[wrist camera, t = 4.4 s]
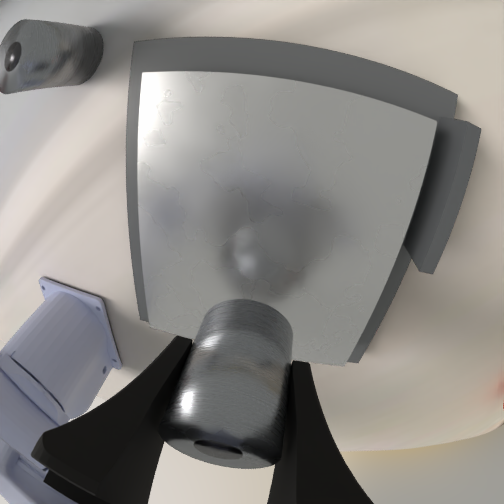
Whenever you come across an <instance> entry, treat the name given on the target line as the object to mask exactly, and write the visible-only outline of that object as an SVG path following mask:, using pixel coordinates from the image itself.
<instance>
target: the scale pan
mask: <svg viewBox="0 0 504 504" xmlns="http://www.w3.org/2000/svg"><path fill="white" fill-rule="evenodd" d="M436 126H437V121H435V120H433V119H430V118H428V117H425V116H423V115H420V114H418V113H415V112H412V111H410V110H407V109H404V108H401V107H398V106H395V105H392V104H389V103H386V102H383V101H380V100H376V99H373V98H370V97H366V96H363V95H359V94H355V93H351V92H347V91H343V90H339V89H335V88H331V87H326V86H321V85H316V84H311V83H306V82H301V81H295V80H289V79H282V78H275V77H267V76H259V75H249V74H238V73H224V72H200V71H169V72H146V73H142V82H141V94H140V107H139V124H138V159H137V179H138V215H139V233H140V247H141V259H142V270H143V280H144V288H145V297H146V304H147V311H148V318H149V325H150V328H154V329H157V330H161V331H164V332H168V333H171V334H175V335H179V336H183V337H187V338H191V339H194V340H195V337H196V335H197V333H198V330H199V328H200V325H201V323H202V321H203V318H204V316H205V314H206V313H207V311H208V310H209V309H210V308H212V307H213V306H214V305H216V304H218V303H220V302H223V301H226V300H232V299H249V300H254V301H258V302H262V303H264V304H267V305H269V306H271V307H273V308H274V309H276V310H277V311H279V312H280V313H281V314H282V315H283V316H284V317H285V318H286V319H287V320H288V322H289V323H290V325H291V327H292V331H293V346H292V359H293V360H299V361H306V362H313V363H320V364H328V365H336V366H345V364H346V362H347V360H348V359H349V357H350V355H351V353H352V351H353V350H354V348H355V346H356V344H357V342H358V340H359V338H360V336H361V334H362V333H363V331H364V329H365V327H366V325H367V323H368V321H369V319H370V317H371V315H372V313H373V310H374V308H375V306H376V304H377V302H378V300H379V298H380V296H381V293H382V291H383V289H384V287H385V284H386V282H387V280H388V277H389V275H390V273H391V270H392V268H393V266H394V263H395V261H396V258H397V256H398V253H399V251H400V248H401V245H402V243H403V240H404V237H405V235H406V232H407V229H408V226H409V223H410V221H411V218H412V215H413V212H414V209H415V206H416V203H417V199H418V196H419V193H420V190H421V186H422V183H423V179H424V176H425V172H426V168H427V165H428V161H429V157H430V153H431V149H432V145H433V140H434V136H435V131H436Z"/></svg>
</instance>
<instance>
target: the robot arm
mask: <svg viewBox="0 0 504 504" xmlns="http://www.w3.org/2000/svg"><path fill="white" fill-rule="evenodd" d="M39 284H40V287H41V290H42V292H43V295H44V298H45V301H44V302H43V303H42V304H41V305H40V306H39V307H38V308H37V310H36V311H35V312H34V313H33V314H32V315H31V316H30V317H29V318H28V319H27V320H26V322H25V323H24V324H23V325H22V326H21V327H20V328H19V330H18V331H17V332H16V333H15V334H14V335H13V336H12V338H11V339H10V340H9V341H8V342H7V344H6V345H5V346H4V347H3V349H2V350H1V351H0V494H1V495H2V496H3V497H4V498H5V499H6V500H7V502H8V503H9V504H148V499H149V495H150V491H151V487H152V483H153V479H154V475H155V471H156V468H157V464H158V461H159V457H160V454H161V451H162V448H163V444H164V440H163V439H162V438H161V436H160V435H159V433H158V428H159V425H160V423H161V420H162V418H163V415H164V413H165V410H166V408H167V405H168V403H169V400H170V398H171V396H172V393H173V391H174V388H175V386H176V383H177V381H178V378H179V376H180V373H181V371H182V369H183V366H184V364H185V361H186V359H187V357H188V354H189V352H190V349H191V347H192V339H188V338H185V337H181V336H176V337H175V338H174V339H173V340H172V341H171V343H170V344H169V345H168V346H167V347H166V348H165V349H164V351H163V352H162V353H161V354H160V355H159V356H158V357H157V358H156V359H155V360H154V361H153V362H152V363H151V364H150V365H149V366H148V367H147V368H146V369H145V370H144V371H143V372H142V373H141V374H140V375H139V376H137V377H136V378H135V379H134V380H133V381H132V382H130V383H129V384H128V385H127V386H126V387H125V388H123V389H122V390H121V391H119V392H118V393H117V394H116V395H114V396H113V397H111V398H110V399H109V400H107V401H106V402H104V403H102V404H101V405H100V406H98V407H96V408H95V409H93V410H91V411H90V412H88V413H86V414H84V413H85V412H86V411H87V410H88V409H89V407H90V406H91V404H92V402H93V400H94V399H95V397H96V395H97V393H98V392H99V390H100V388H101V386H102V385H103V383H104V381H105V379H106V378H107V376H108V374H109V373H110V371H111V369H112V368H113V367H114V368H116V369H121V368H122V364H121V361H120V358H119V355H118V352H117V348H116V345H115V342H114V339H113V335H112V332H111V328H110V325H109V321H108V317H107V313H106V309H105V305H104V302H103V300H102V299H101V298H99V297H97V296H94V295H91V294H88V293H85V292H82V291H79V290H76V289H73V288H70V287H68V286H65V285H62V284H59V283H57V282H54V281H51V280H49V279H46V278H44V277H41V278H40V279H39ZM82 414H84V415H82ZM80 415H82V416H80ZM78 416H80V417H78ZM76 417H78V418H76ZM72 418H76V419H74V420H72V421H71V422H68V421H69V420H70V419H72ZM267 504H374V503H373V502H372V501H371V499H370V498H369V497H368V496H367V494H366V493H365V492H364V490H363V489H362V488H361V486H360V485H359V484H358V482H357V480H356V479H355V477H354V476H353V474H352V473H351V471H350V469H349V468H348V466H347V465H346V463H345V461H344V459H343V457H342V455H341V454H340V452H339V450H338V448H337V445H336V443H335V441H334V439H333V437H332V435H331V432H330V430H329V427H328V425H327V422H326V420H325V417H324V414H323V411H322V408H321V405H320V402H319V399H318V396H317V392H316V389H315V385H314V381H313V377H312V372H311V367H310V364H309V363H308V362H301V361H295V360H293V362H292V365H291V371H290V383H289V394H288V404H287V414H286V423H285V432H284V441H283V449H282V457H281V460H280V461H279V462H278V463H276V464H275V469H274V474H273V480H272V485H271V489H270V494H269V498H268V502H267Z"/></svg>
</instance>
